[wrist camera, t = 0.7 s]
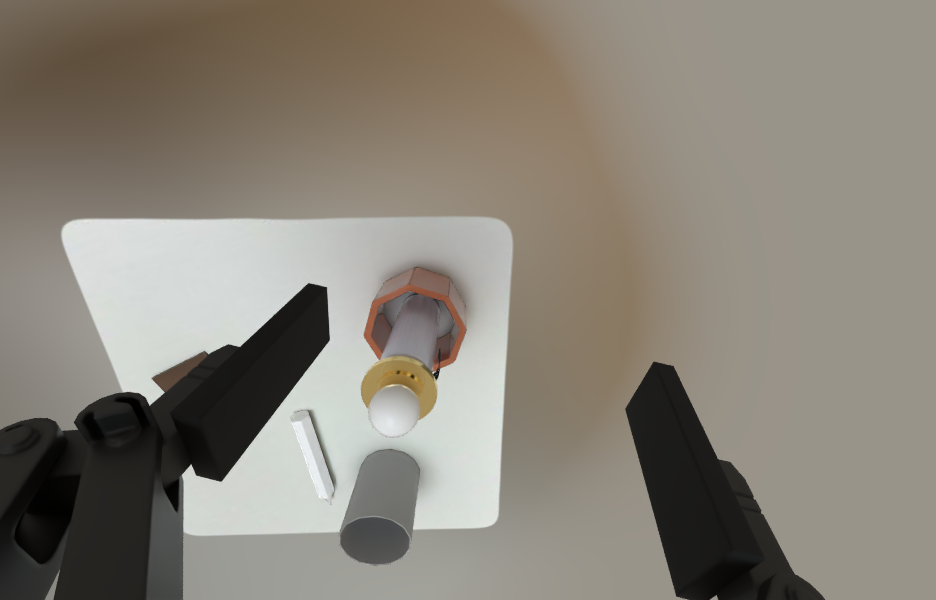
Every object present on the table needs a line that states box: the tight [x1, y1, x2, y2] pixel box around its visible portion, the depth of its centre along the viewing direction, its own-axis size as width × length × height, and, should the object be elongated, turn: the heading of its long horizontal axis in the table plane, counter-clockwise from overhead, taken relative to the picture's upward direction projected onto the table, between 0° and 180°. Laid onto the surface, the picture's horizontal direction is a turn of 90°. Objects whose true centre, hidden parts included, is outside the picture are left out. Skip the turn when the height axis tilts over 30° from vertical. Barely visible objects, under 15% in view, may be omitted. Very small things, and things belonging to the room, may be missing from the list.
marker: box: [290, 410, 335, 504], centre depth 50 cm, size 3×2×16 cm
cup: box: [339, 449, 420, 566], centre depth 47 cm, size 8×8×10 cm
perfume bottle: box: [361, 294, 441, 438], centre depth 33 cm, size 6×6×20 cm
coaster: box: [152, 351, 208, 392], centre depth 46 cm, size 10×8×1 cm
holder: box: [364, 267, 466, 372], centre depth 40 cm, size 10×10×6 cm
